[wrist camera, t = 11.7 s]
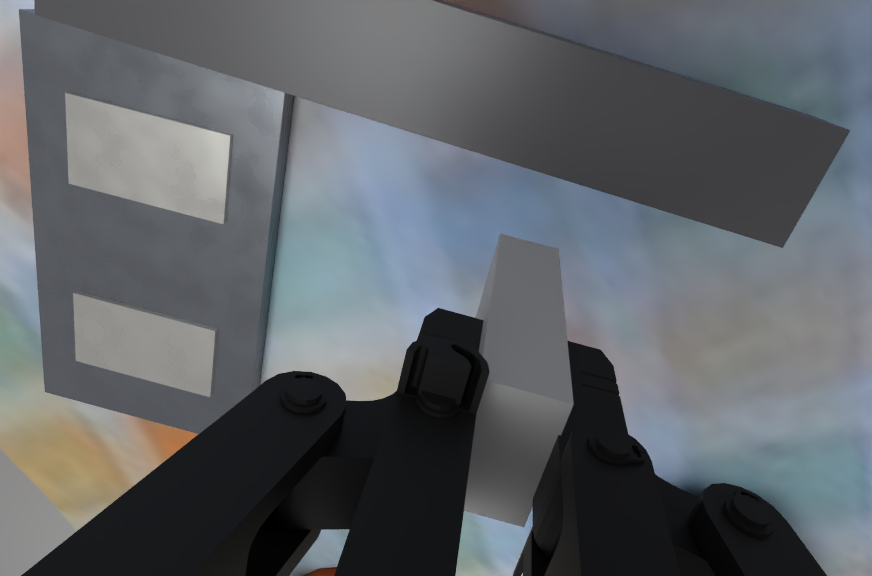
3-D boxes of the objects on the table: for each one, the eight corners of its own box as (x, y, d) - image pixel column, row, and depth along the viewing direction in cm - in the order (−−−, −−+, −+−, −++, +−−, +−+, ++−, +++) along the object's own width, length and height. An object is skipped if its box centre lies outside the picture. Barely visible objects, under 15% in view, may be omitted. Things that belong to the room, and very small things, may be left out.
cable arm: (-5, -139, 22) (-87, -161, 19) (806, 113, 22) (849, 130, 19) (0, -16, 23) (-74, -20, 20) (751, 217, 23) (783, 247, 20)
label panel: (310, -43, 30) (235, -59, 22) (254, 432, 42) (193, 526, 35) (33, -112, 30) (-136, -153, 22) (60, 379, 43) (-42, 461, 35)
